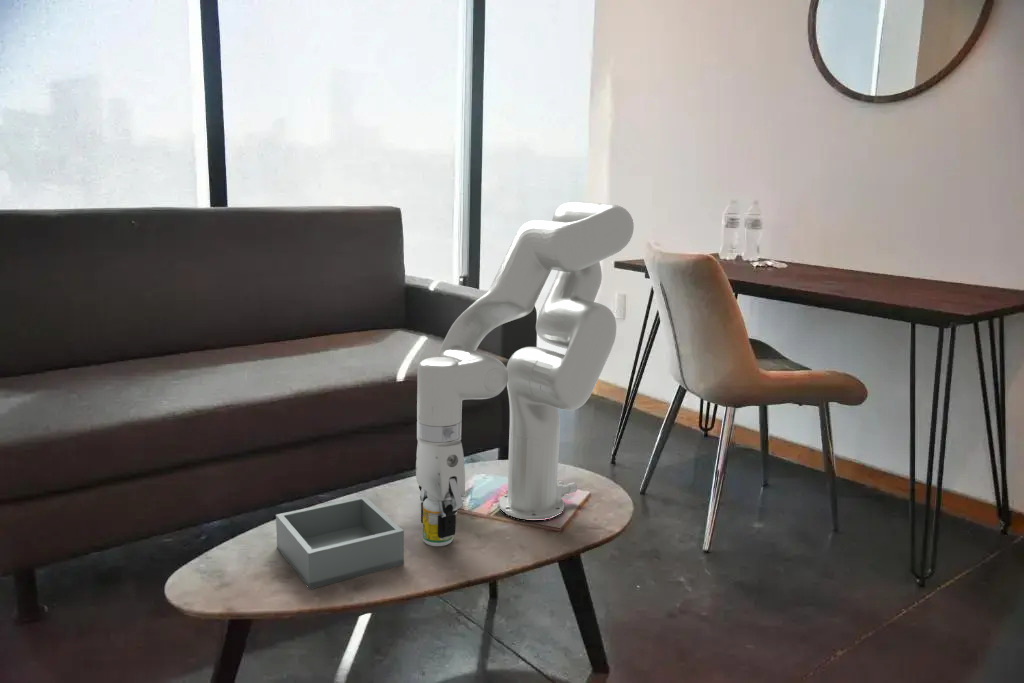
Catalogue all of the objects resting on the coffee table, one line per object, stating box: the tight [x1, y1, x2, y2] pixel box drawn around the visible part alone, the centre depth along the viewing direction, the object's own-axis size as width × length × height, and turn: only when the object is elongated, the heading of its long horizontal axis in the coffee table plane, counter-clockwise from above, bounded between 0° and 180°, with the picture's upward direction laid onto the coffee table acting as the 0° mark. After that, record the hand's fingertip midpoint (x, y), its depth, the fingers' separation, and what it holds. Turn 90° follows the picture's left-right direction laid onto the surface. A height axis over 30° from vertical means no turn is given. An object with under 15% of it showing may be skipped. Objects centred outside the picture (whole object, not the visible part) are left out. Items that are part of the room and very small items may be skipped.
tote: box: [275, 495, 405, 590], centre depth 135 cm, size 16×16×6 cm
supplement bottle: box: [422, 492, 454, 547], centre depth 141 cm, size 5×5×10 cm
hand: (438, 527), depth 142 cm, fingers closed on supplement bottle, 5 cm apart
